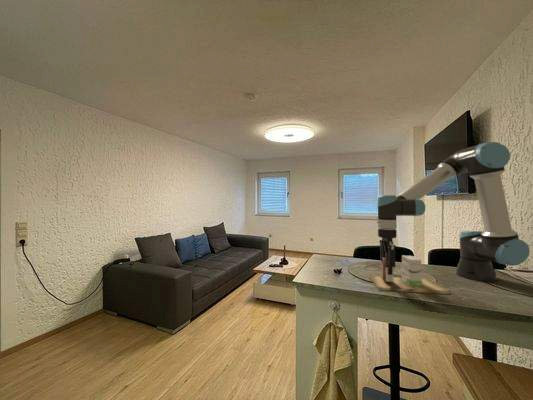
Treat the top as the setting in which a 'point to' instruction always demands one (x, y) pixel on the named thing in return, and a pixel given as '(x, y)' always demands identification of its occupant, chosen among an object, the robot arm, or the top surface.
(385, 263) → the brown bottle
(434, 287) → the panel
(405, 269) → the ink box
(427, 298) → the top surface
